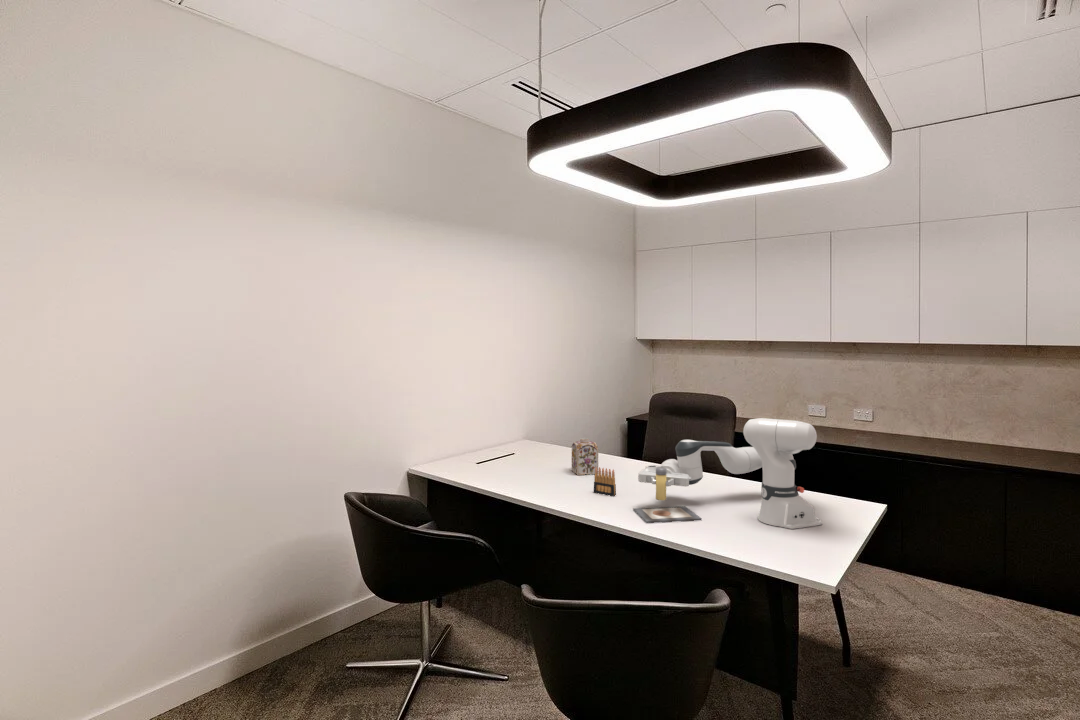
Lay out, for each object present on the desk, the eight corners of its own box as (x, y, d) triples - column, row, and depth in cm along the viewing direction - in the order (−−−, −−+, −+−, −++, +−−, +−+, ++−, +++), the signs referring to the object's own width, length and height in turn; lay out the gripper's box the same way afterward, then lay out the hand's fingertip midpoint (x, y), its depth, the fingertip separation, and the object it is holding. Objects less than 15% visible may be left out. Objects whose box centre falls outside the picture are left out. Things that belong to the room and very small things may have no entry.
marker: (664, 497, 220) (664, 467, 219) (668, 500, 216) (668, 469, 215) (654, 497, 219) (654, 467, 219) (657, 500, 215) (657, 470, 215)
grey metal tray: (684, 507, 227) (684, 505, 227) (701, 520, 211) (701, 517, 211) (633, 510, 224) (633, 507, 224) (646, 523, 208) (646, 520, 208)
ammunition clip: (616, 495, 246) (616, 469, 245) (614, 496, 244) (614, 469, 244) (595, 491, 252) (595, 465, 252) (593, 492, 251) (593, 466, 250)
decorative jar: (576, 475, 282) (576, 441, 281) (571, 470, 293) (570, 437, 293) (599, 474, 284) (599, 440, 284) (592, 469, 296) (592, 436, 295)
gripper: (692, 485, 225) (687, 493, 213) (642, 480, 233) (635, 488, 220) (692, 469, 225) (687, 477, 212) (642, 465, 233) (635, 472, 220)
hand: (660, 483), depth 216 cm, fingers closed on marker, 4 cm apart
